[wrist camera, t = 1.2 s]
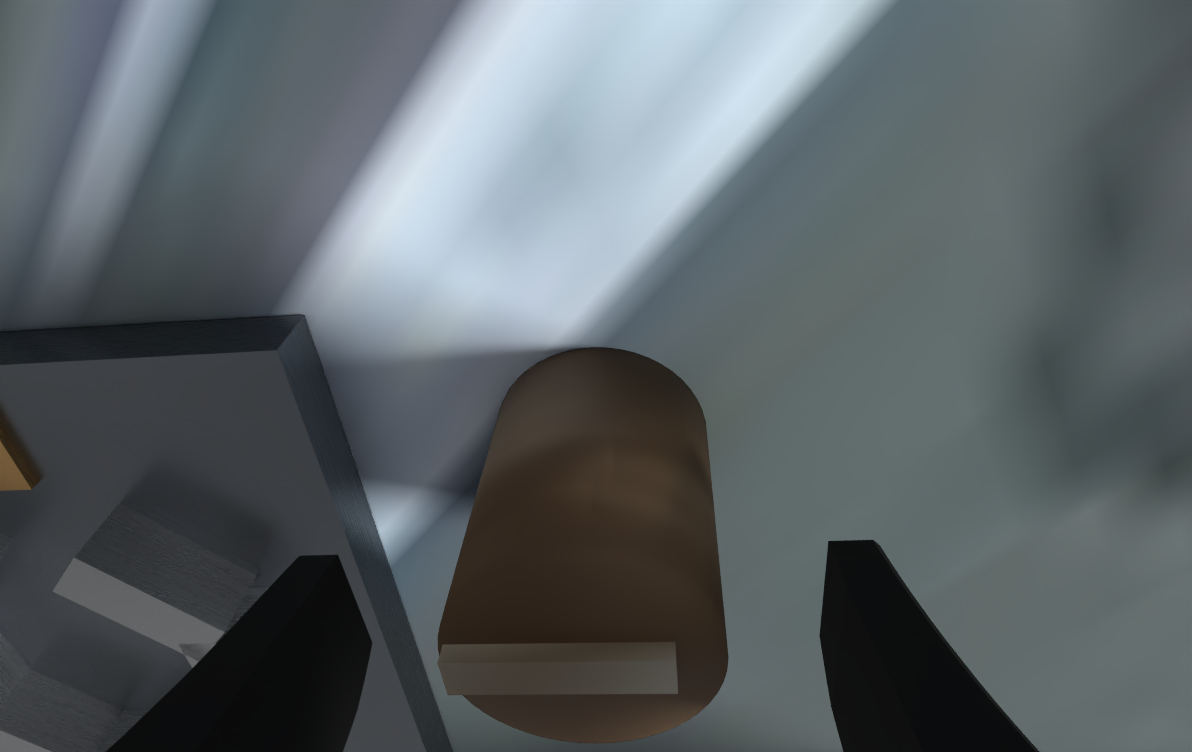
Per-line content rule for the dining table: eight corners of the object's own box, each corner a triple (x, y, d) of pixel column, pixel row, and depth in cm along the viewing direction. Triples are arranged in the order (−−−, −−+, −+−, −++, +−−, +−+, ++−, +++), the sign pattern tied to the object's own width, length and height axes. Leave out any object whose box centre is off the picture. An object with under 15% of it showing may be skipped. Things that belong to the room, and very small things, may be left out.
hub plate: (456, 763, 21) (434, 865, 19) (52, 761, 23) (-12, 857, 20) (303, 315, 14) (239, 399, 12) (-292, 348, 15) (-452, 431, 13)
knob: (704, 341, 14) (729, 571, 9) (708, 511, 16) (730, 763, 11) (481, 353, 14) (401, 578, 10) (514, 516, 16) (463, 762, 12)
